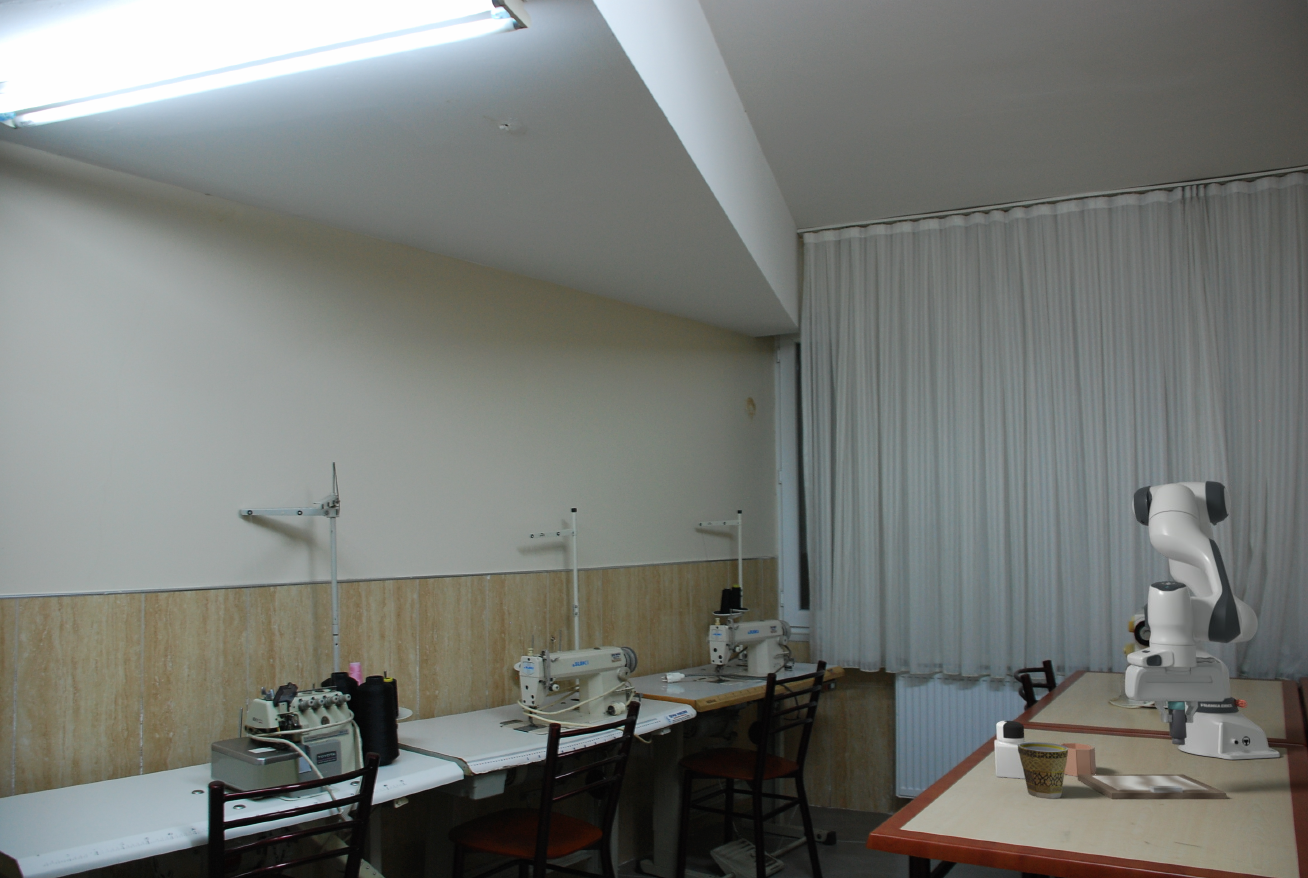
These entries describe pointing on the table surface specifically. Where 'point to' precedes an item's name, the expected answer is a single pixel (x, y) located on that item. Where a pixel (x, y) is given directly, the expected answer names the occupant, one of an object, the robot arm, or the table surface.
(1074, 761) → the pen pot
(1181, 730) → the marker
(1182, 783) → the brown picture frame
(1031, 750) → the ceramic cup
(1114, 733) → the table surface
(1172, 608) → the robot arm
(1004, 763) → the medicine bottle
